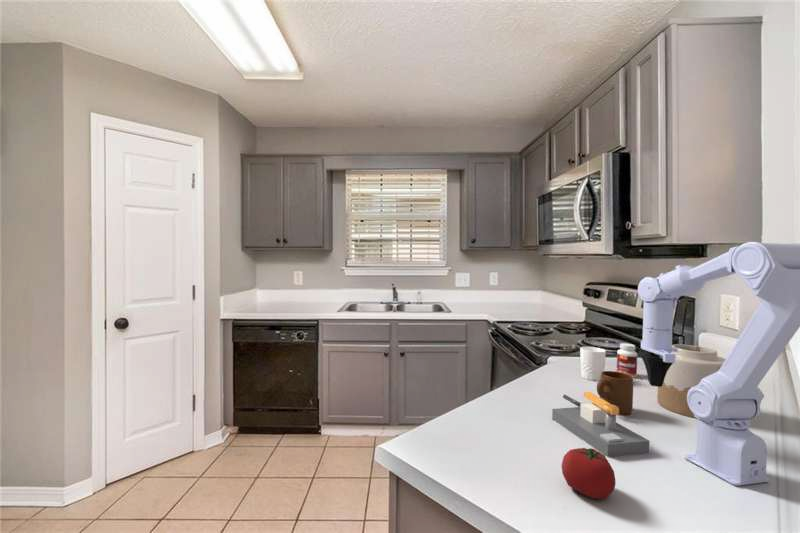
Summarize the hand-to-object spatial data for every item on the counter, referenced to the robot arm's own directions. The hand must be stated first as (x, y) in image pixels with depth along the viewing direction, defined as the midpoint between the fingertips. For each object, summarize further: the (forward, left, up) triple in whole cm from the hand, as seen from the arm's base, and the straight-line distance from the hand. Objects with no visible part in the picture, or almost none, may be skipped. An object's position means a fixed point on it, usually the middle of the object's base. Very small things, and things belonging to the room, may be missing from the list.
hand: (655, 385), depth 85 cm
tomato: (-18, +33, -11) cm, 39 cm away
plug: (+6, +15, -8) cm, 18 cm away
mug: (+11, +2, -11) cm, 15 cm away
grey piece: (0, +16, -10) cm, 19 cm away
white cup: (+37, -14, -11) cm, 41 cm away
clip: (+1, +14, -4) cm, 15 cm away
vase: (+9, -22, -11) cm, 26 cm away
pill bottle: (+38, -29, -11) cm, 49 cm away
